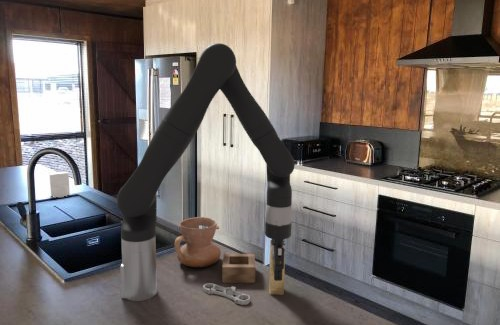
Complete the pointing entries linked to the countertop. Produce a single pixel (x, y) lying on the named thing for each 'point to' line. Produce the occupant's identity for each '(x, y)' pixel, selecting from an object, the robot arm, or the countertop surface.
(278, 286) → the tan wooden square peg
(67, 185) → the white rectangular block
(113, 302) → the countertop surface
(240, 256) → the walnut block
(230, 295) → the bracket
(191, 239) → the ceramic jug
